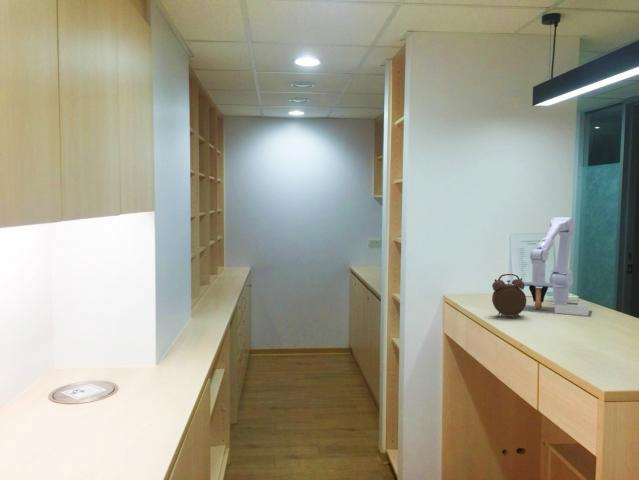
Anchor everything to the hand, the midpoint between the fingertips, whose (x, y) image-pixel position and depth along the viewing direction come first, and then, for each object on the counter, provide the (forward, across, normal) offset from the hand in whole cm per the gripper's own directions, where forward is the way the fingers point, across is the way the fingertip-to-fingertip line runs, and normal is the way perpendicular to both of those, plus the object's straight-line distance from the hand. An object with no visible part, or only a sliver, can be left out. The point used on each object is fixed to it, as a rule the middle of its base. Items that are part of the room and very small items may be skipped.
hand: (538, 301), depth 256 cm
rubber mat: (+4, +8, 0) cm, 9 cm away
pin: (+3, 0, 0) cm, 3 cm away
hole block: (+4, +15, 0) cm, 15 cm away
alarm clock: (+4, -10, -21) cm, 24 cm away
